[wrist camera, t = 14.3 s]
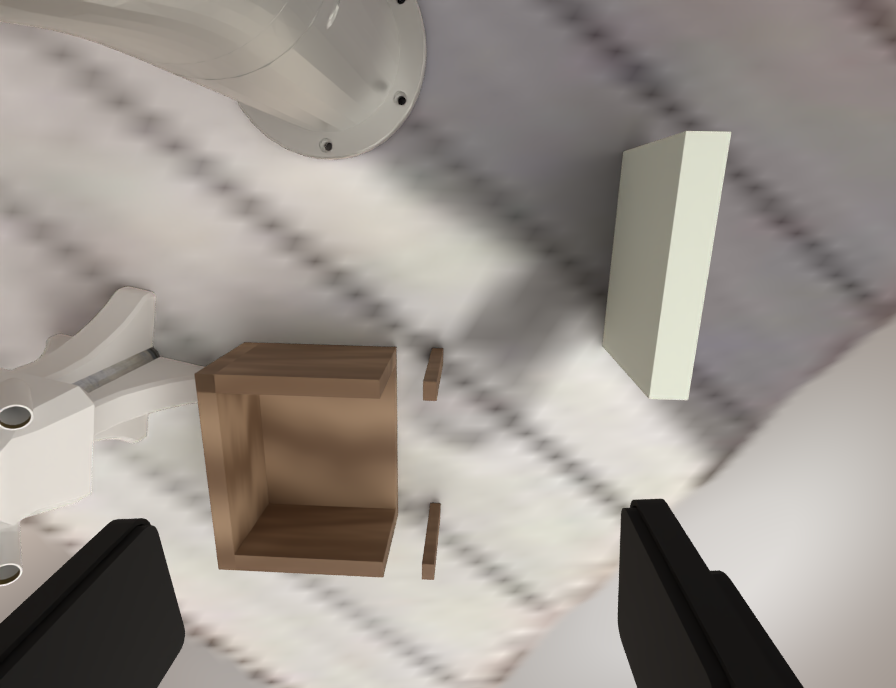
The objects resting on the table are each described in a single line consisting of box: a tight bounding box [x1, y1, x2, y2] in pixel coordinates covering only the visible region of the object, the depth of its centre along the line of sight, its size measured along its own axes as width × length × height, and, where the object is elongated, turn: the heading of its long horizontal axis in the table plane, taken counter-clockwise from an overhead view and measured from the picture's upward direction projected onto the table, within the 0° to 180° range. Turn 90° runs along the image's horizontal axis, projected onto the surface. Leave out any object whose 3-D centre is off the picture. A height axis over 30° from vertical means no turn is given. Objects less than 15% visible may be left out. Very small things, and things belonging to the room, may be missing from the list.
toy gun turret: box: [0, 286, 204, 586], centre depth 29 cm, size 12×13×18 cm
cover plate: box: [602, 131, 731, 400], centre depth 29 cm, size 13×2×10 cm, turn 179°
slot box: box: [194, 342, 443, 580], centre depth 35 cm, size 14×15×7 cm
